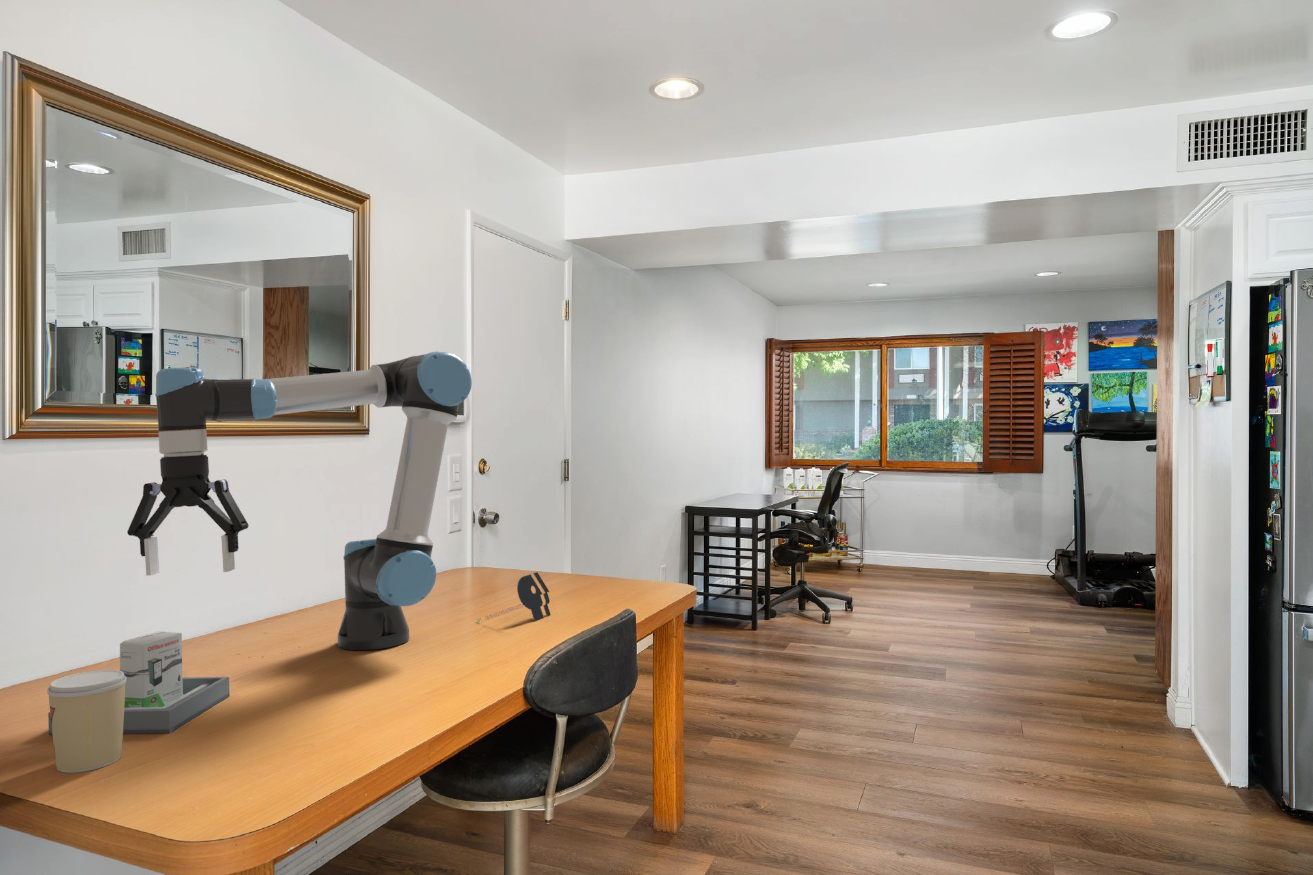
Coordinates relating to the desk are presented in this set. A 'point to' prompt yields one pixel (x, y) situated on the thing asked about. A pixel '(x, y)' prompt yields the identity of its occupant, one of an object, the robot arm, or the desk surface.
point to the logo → (531, 596)
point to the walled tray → (175, 707)
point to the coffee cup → (87, 719)
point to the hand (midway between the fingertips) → (191, 572)
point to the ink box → (152, 669)
